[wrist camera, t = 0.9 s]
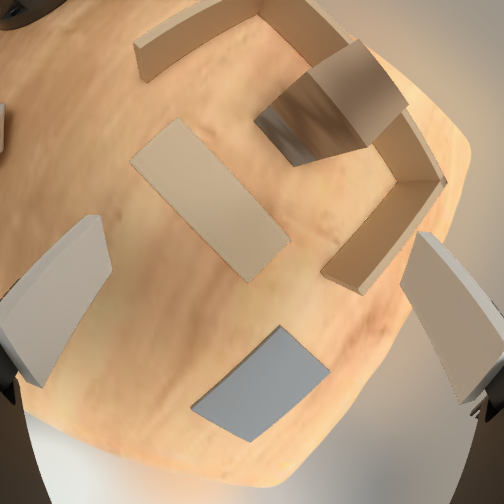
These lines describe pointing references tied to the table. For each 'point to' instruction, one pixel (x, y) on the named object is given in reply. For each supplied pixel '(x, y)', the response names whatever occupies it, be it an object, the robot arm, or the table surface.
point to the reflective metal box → (333, 107)
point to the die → (2, 126)
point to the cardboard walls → (234, 193)
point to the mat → (262, 387)
